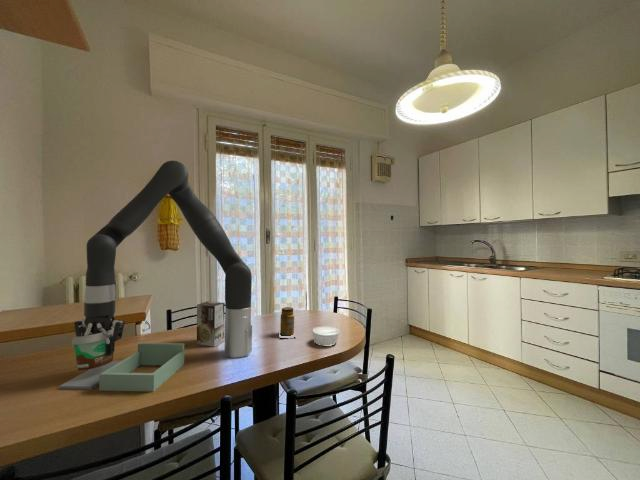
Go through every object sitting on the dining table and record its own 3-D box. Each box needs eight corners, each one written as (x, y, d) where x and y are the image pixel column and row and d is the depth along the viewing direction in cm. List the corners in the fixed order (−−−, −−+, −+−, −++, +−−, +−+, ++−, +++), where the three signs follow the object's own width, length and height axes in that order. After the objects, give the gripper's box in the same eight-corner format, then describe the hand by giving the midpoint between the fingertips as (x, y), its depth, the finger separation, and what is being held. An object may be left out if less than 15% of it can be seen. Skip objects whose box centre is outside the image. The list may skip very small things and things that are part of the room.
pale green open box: (184, 364, 94) (184, 343, 94) (153, 391, 77) (154, 365, 77) (139, 363, 94) (139, 342, 94) (99, 390, 77) (99, 365, 77)
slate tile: (131, 364, 93) (131, 361, 93) (91, 389, 77) (91, 386, 77) (104, 363, 93) (104, 361, 93) (59, 389, 77) (59, 386, 77)
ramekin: (331, 350, 108) (331, 336, 108) (306, 344, 113) (307, 331, 113) (343, 341, 118) (343, 329, 118) (320, 336, 123) (320, 324, 123)
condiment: (293, 332, 128) (294, 306, 128) (296, 338, 120) (296, 310, 120) (278, 333, 127) (278, 306, 127) (279, 339, 119) (279, 311, 119)
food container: (90, 373, 78) (89, 337, 79) (72, 372, 80) (71, 337, 80) (127, 355, 91) (126, 325, 91) (111, 355, 92) (110, 325, 92)
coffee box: (224, 341, 115) (225, 302, 115) (214, 347, 109) (214, 306, 109) (207, 338, 118) (207, 300, 118) (195, 344, 112) (196, 303, 112)
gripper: (132, 297, 89) (130, 350, 89) (87, 296, 89) (86, 349, 89) (114, 302, 82) (113, 360, 81) (65, 301, 82) (64, 359, 81)
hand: (99, 354), depth 85 cm, fingers closed on food container, 5 cm apart
